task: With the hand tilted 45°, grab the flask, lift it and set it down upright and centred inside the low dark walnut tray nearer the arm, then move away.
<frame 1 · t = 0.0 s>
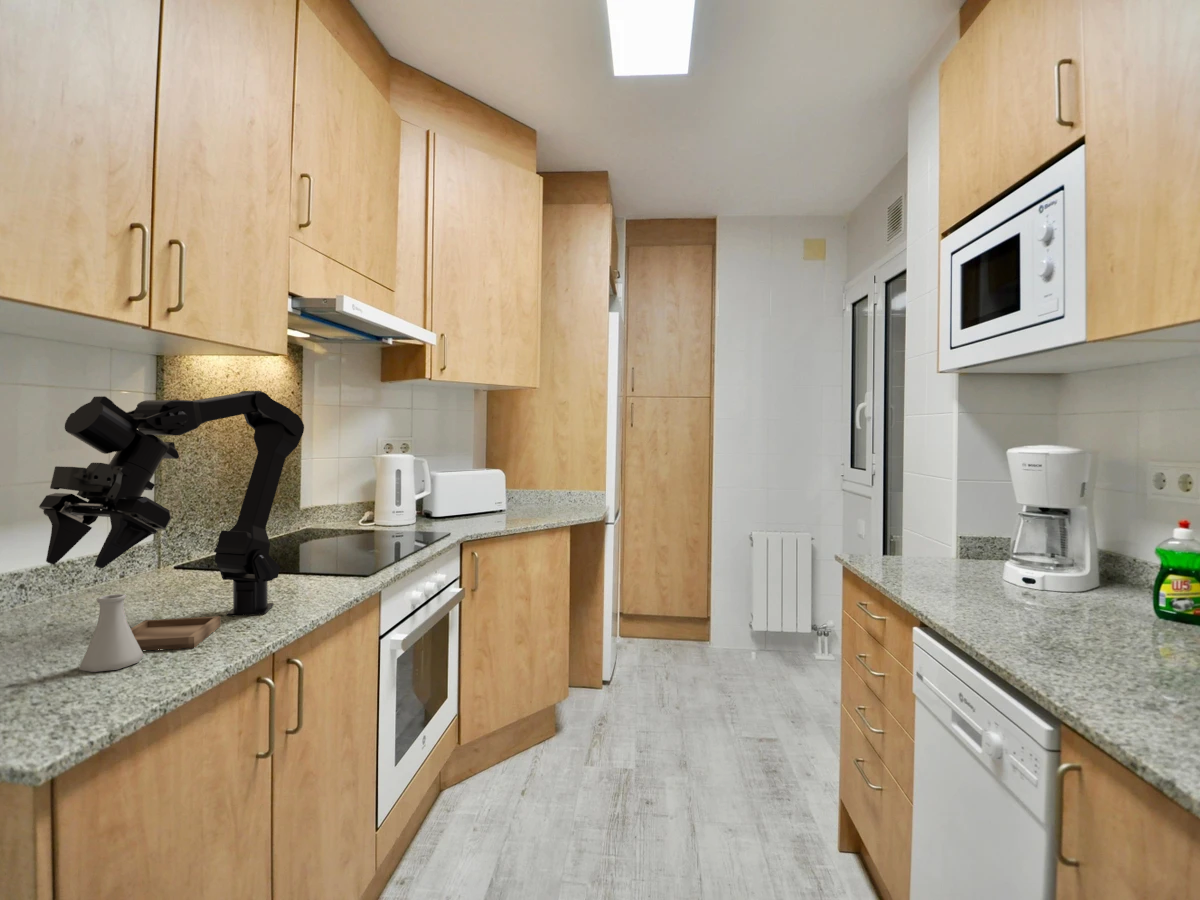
hand: (73, 565, 89), 15 cm above the countertop, tool tilted 35°, fingers open, 9 cm apart
flask: (112, 665, 92), on the countertop
walnut tray: (168, 639, 103), on the countertop
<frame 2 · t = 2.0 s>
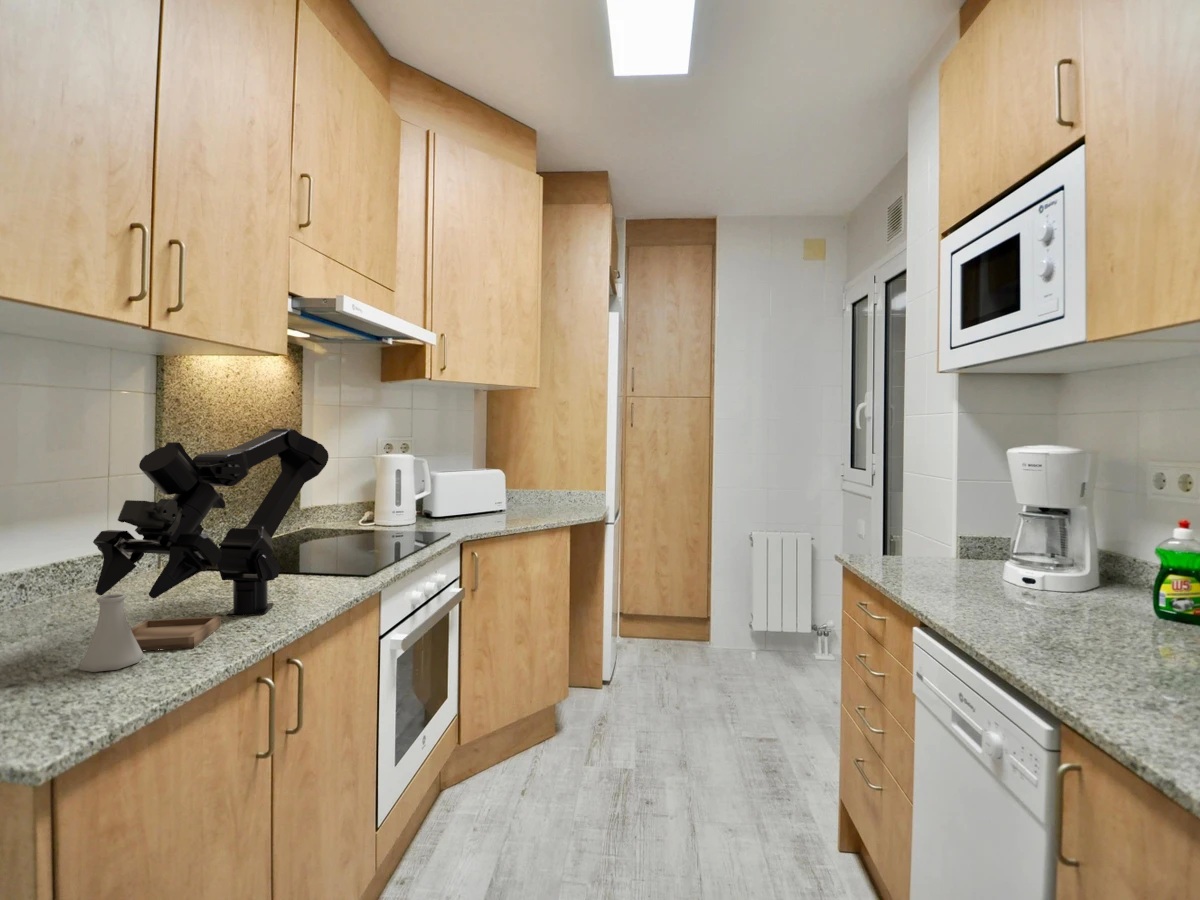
hand: (124, 595, 94), 10 cm above the countertop, tool tilted 45°, fingers open, 9 cm apart
nothing on the countertop moved.
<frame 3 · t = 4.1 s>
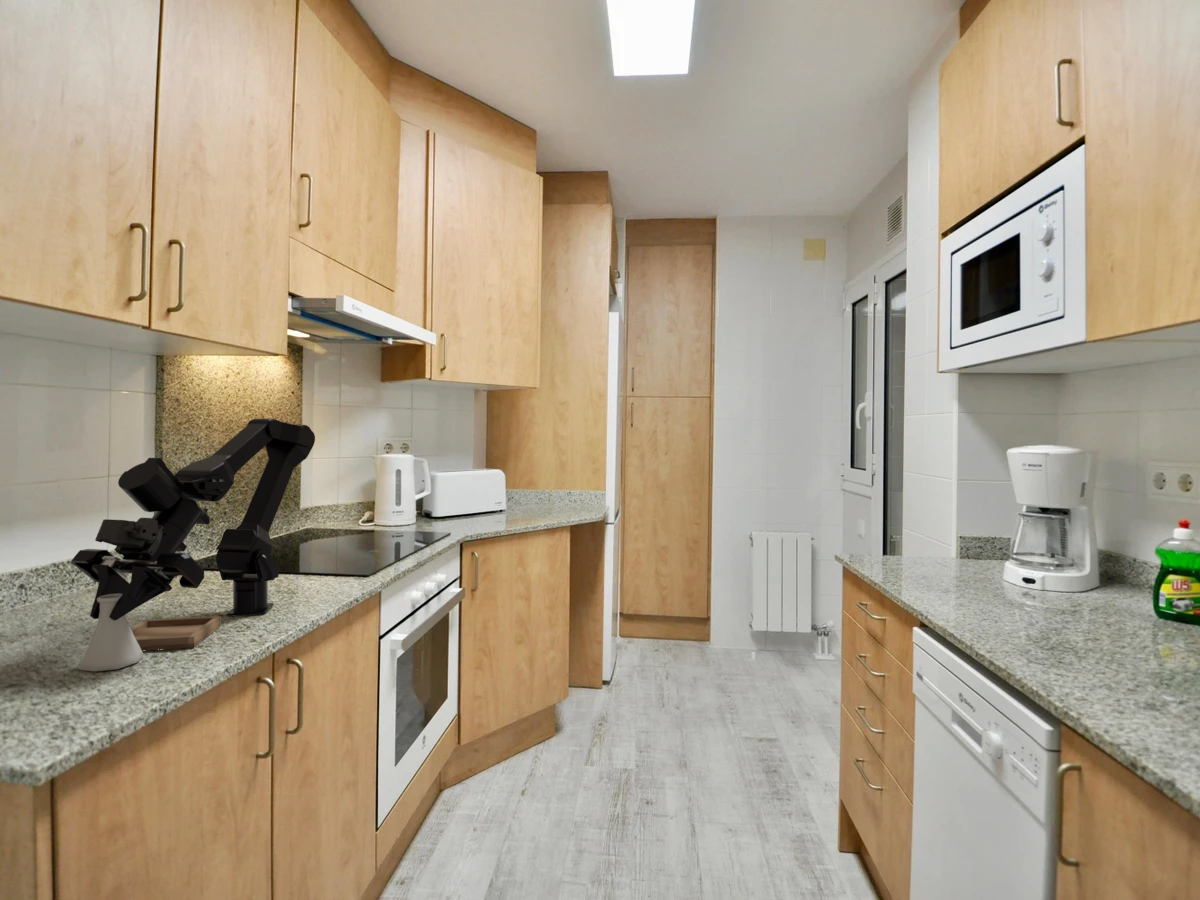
hand: (102, 618, 90), 7 cm above the countertop, tool tilted 45°, fingers closed on flask, 3 cm apart
flask: (112, 665, 92), on the countertop, touching gripper
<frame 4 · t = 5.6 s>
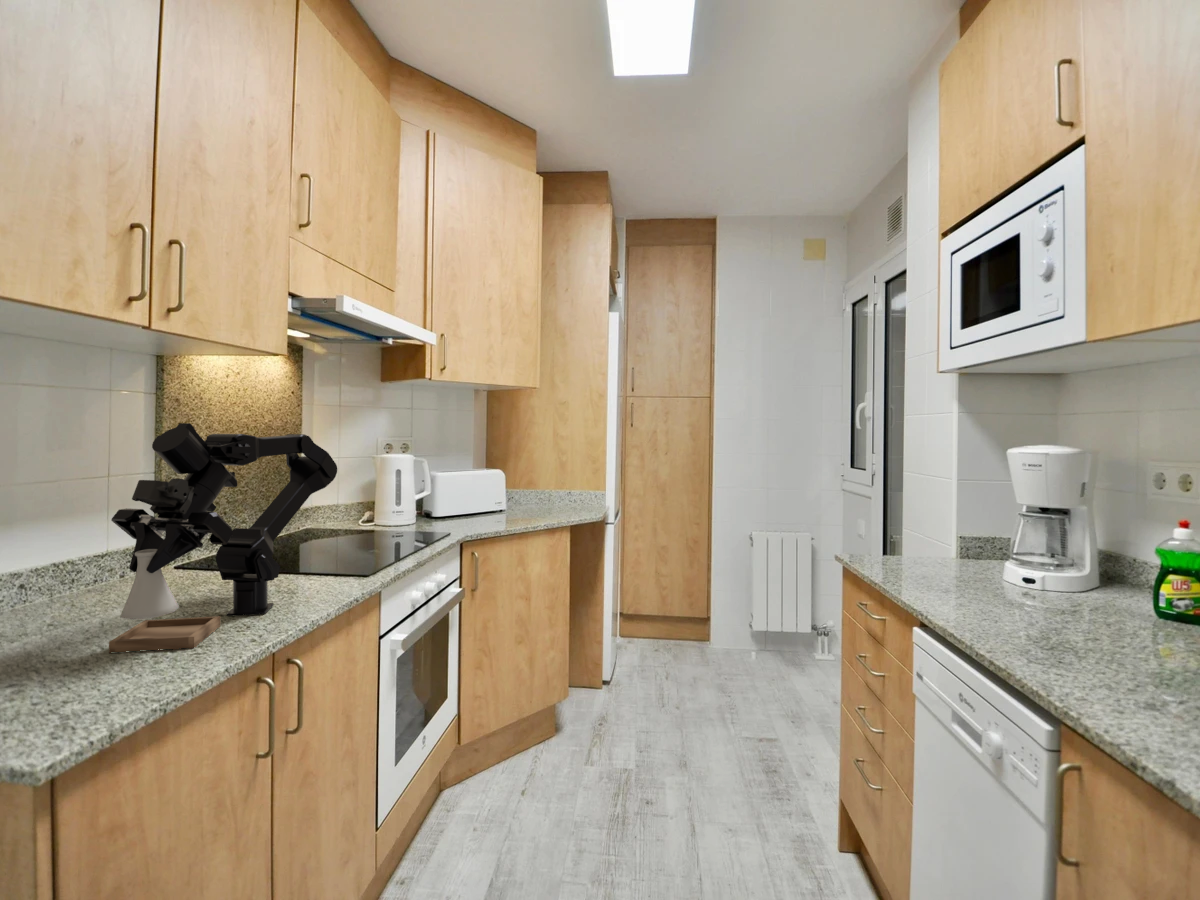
hand: (140, 571, 97), 12 cm above the countertop, tool tilted 45°, fingers closed on flask, 3 cm apart
flask: (150, 615, 99), point 5 cm above the countertop, touching gripper
when the fingers open (9 cm above the countertop, at t = 7.5 s): flask stays where it is, resting on walnut tray.
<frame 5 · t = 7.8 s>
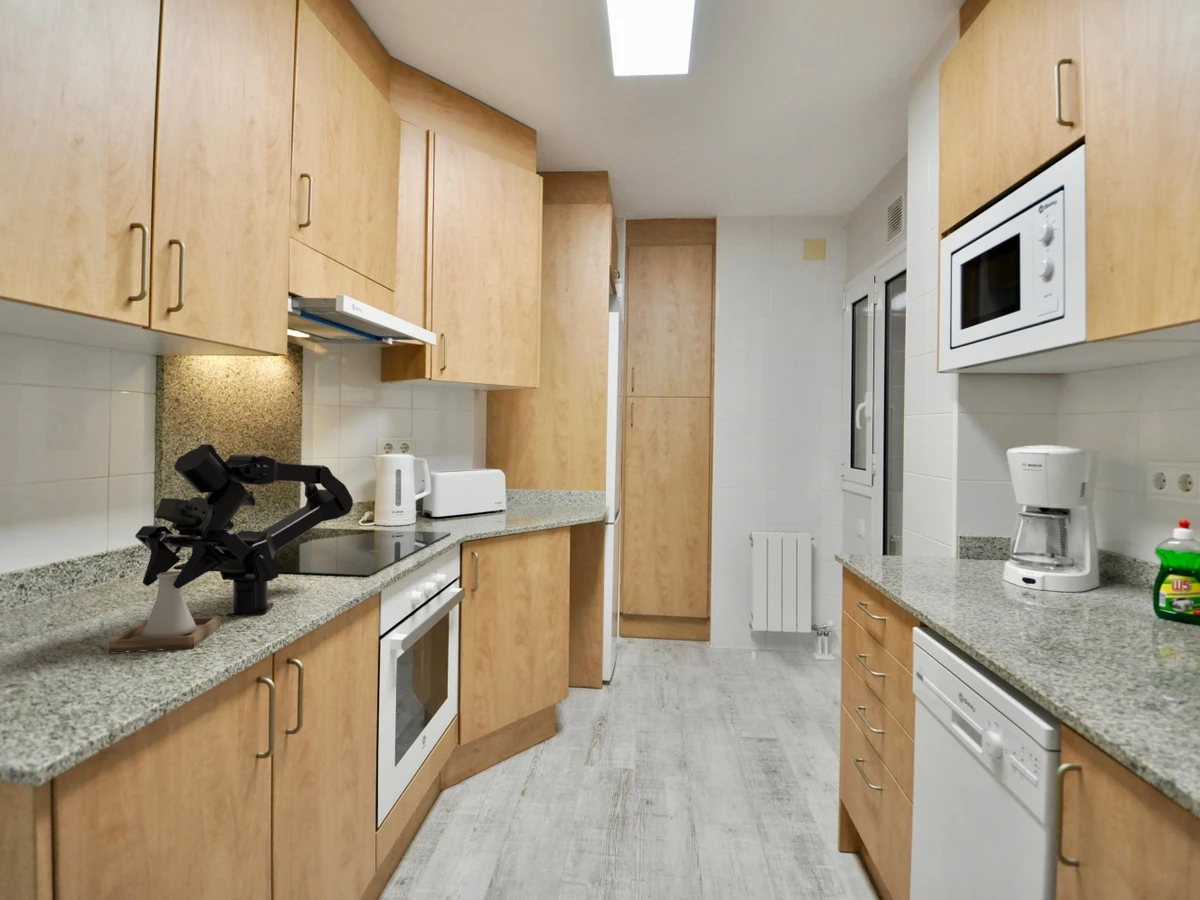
hand: (160, 585, 102), 9 cm above the countertop, tool tilted 45°, fingers open, 6 cm apart
flask: (169, 635, 104), point 1 cm above the countertop, touching walnut tray
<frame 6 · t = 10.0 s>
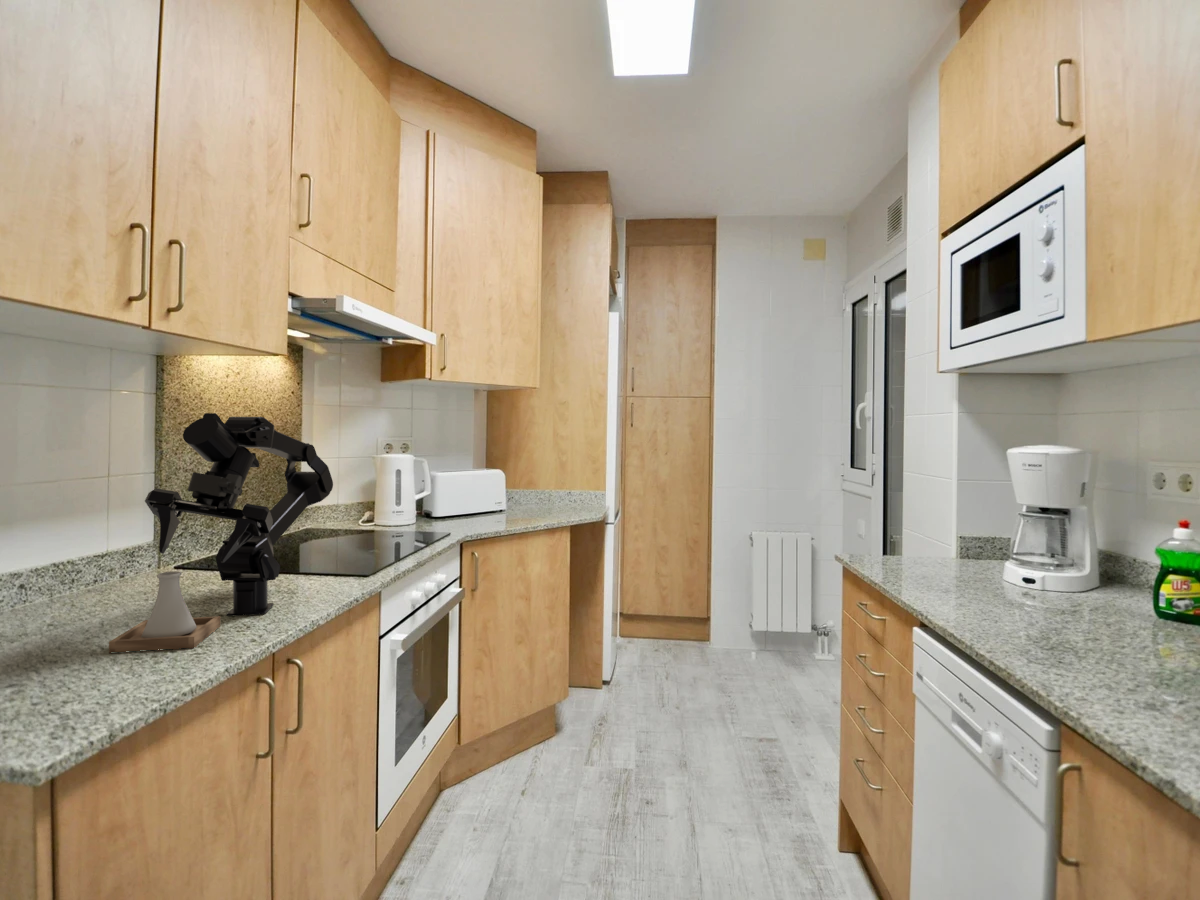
hand: (191, 557, 104), 13 cm above the countertop, tool tilted 35°, fingers open, 9 cm apart
nothing on the countertop moved.
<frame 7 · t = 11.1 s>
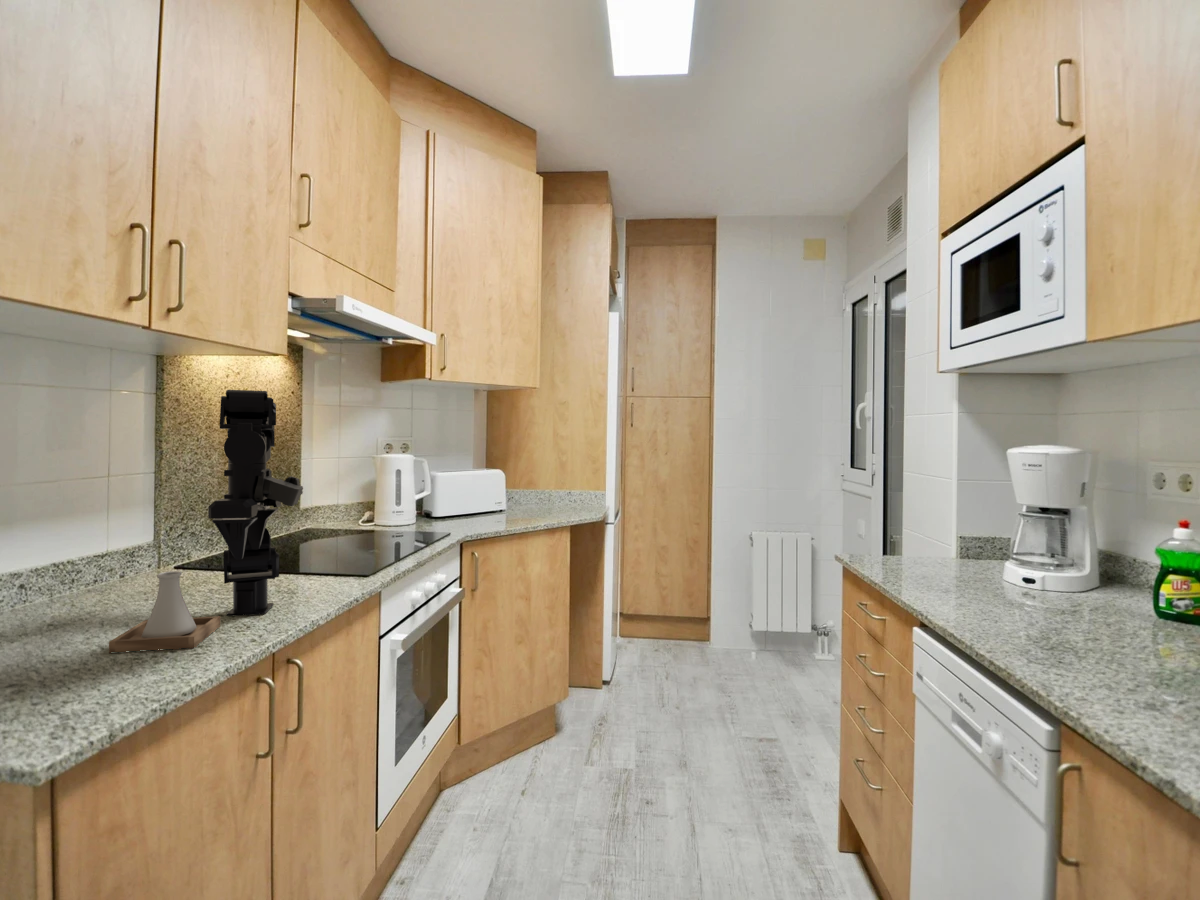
hand: (247, 554, 108), 13 cm above the countertop, tool pointing down, fingers open, 9 cm apart
nothing on the countertop moved.
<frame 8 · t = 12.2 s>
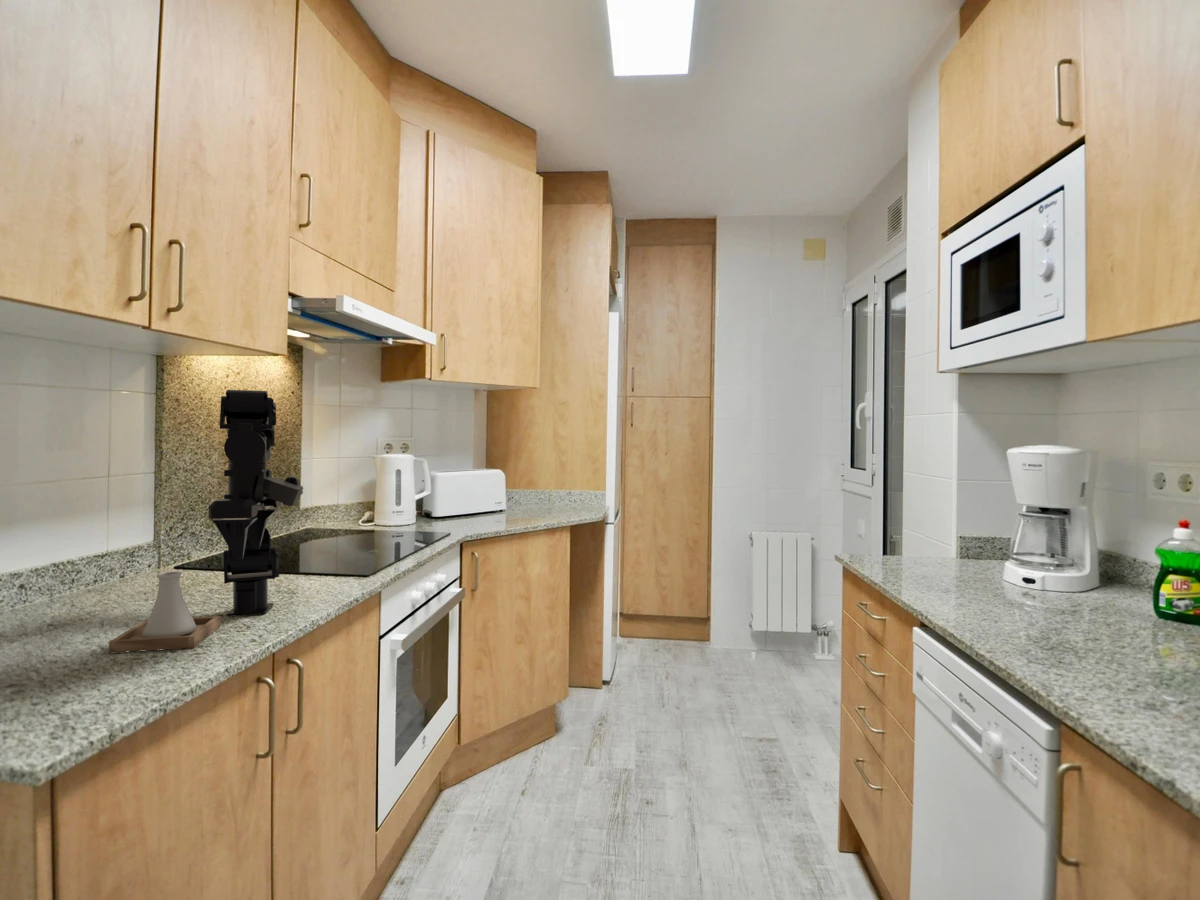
hand: (247, 554, 109), 13 cm above the countertop, tool pointing down, fingers open, 9 cm apart
nothing on the countertop moved.
at the end: flask 0.2 cm off-centre on the walnut tray, point 0.6 cm above the walnut tray's base; flask tilted 0°; the gripper is holding nothing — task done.
